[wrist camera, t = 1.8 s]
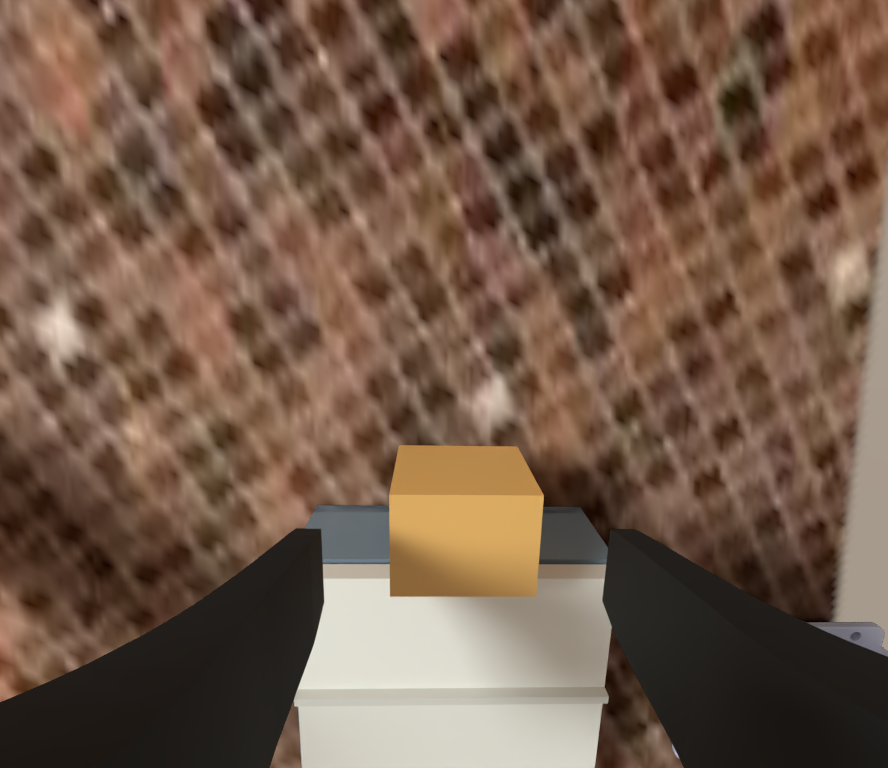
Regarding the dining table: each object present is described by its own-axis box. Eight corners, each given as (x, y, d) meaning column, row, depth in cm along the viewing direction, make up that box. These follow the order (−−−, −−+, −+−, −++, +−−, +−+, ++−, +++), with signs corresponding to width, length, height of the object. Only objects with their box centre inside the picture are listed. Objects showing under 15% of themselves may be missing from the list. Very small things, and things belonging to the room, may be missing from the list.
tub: (580, 506, 20) (615, 559, 16) (556, 750, 23) (582, 843, 19) (316, 505, 20) (289, 559, 16) (327, 752, 23) (306, 848, 19)
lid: (621, 447, 15) (680, 496, 12) (575, 852, 19) (608, 980, 15) (290, 444, 15) (246, 493, 11) (313, 857, 19) (286, 990, 15)
